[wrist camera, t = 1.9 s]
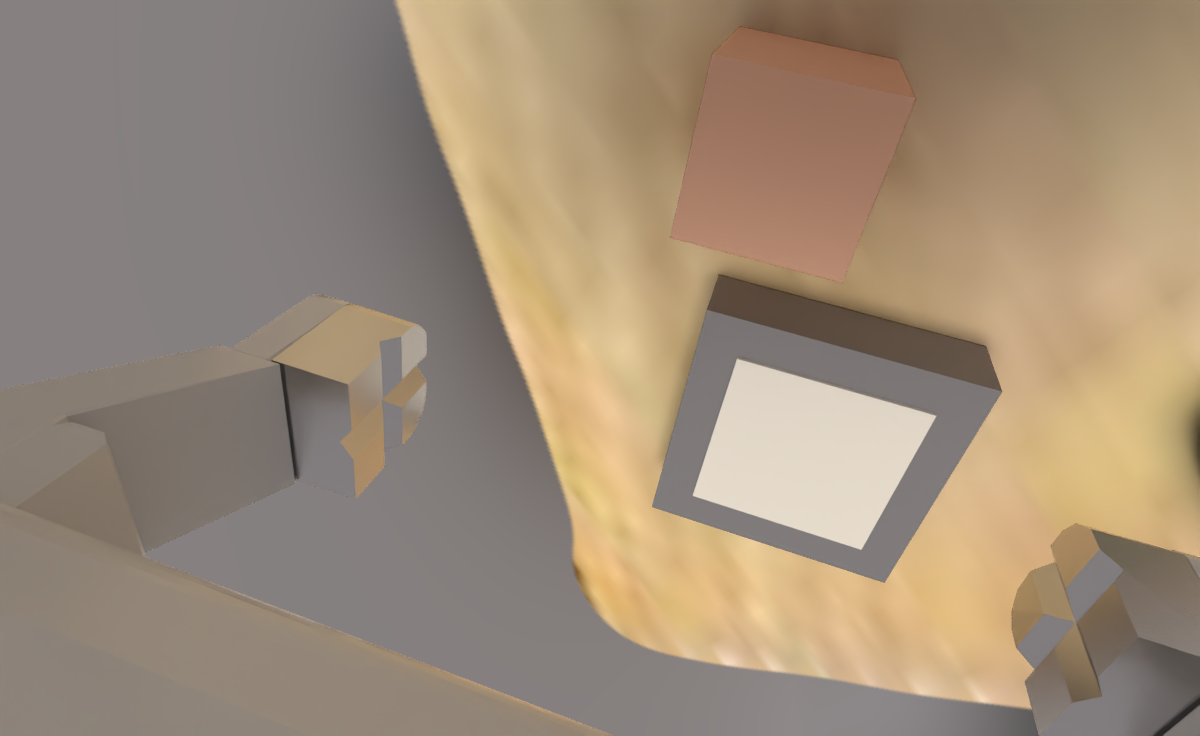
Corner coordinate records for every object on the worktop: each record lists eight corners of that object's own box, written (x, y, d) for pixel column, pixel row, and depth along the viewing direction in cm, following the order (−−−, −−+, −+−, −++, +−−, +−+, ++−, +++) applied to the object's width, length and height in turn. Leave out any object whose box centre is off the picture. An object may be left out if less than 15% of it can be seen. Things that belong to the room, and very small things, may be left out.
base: (719, 275, 26) (706, 311, 24) (986, 346, 25) (1002, 394, 22) (665, 463, 32) (651, 509, 30) (880, 531, 31) (884, 585, 28)
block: (740, 26, 22) (712, 53, 17) (898, 59, 21) (916, 98, 16) (703, 177, 25) (670, 237, 20) (841, 211, 24) (842, 282, 19)
